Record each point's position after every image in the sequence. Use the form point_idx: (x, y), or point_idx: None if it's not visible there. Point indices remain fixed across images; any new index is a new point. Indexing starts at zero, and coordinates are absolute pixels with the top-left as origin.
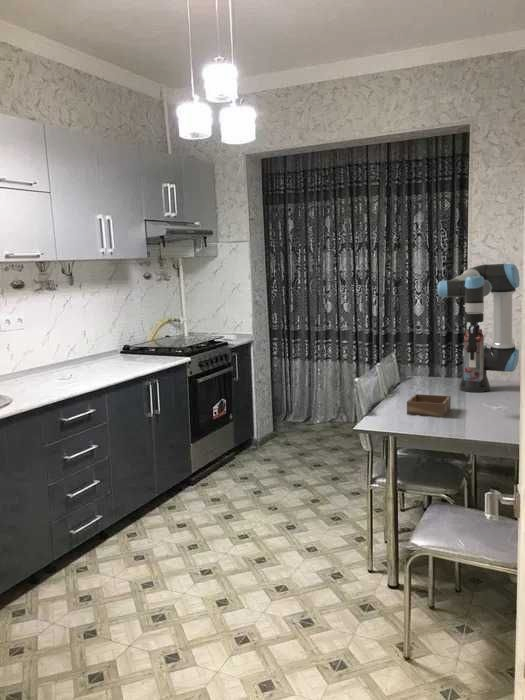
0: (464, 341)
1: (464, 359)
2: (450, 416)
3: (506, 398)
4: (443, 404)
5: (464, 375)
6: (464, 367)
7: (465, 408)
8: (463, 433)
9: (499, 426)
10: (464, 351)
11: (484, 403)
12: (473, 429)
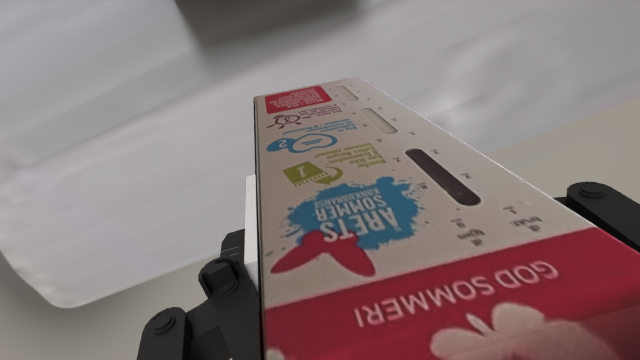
0: (263, 320)
1: (256, 157)
2: (214, 10)
3: (598, 86)
4: None
5: (254, 110)
6: (255, 129)
7: (385, 9)
8: (16, 170)
9: (201, 220)
10: (257, 202)
11: (498, 45)
12: (98, 174)
